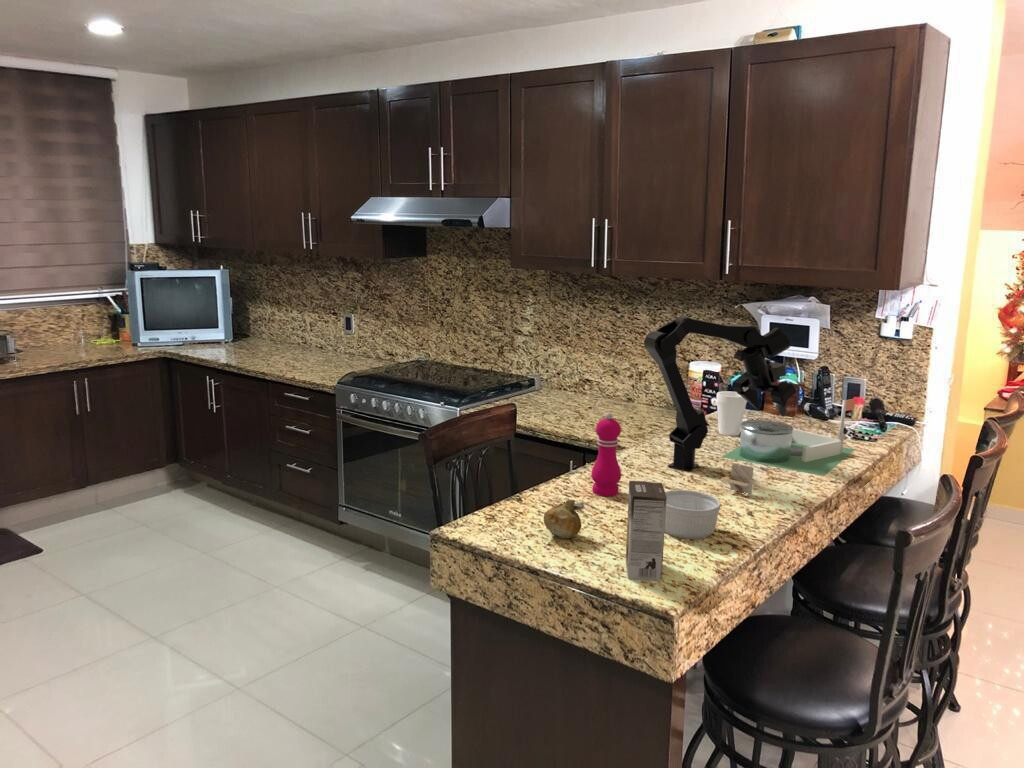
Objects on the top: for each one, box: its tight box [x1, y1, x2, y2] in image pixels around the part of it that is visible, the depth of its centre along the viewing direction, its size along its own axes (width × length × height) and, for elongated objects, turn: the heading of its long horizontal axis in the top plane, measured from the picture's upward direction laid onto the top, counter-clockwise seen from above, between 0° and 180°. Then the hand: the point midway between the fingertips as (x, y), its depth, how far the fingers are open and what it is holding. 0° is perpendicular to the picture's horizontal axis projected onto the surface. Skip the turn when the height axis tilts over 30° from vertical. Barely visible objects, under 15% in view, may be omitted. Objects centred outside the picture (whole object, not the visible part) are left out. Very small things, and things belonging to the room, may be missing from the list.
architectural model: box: [720, 462, 754, 497], centre depth 195 cm, size 3×7×7 cm, turn 48°
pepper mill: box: [590, 412, 622, 497], centre depth 192 cm, size 7×7×20 cm
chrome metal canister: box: [739, 419, 794, 463], centre depth 228 cm, size 14×14×9 cm
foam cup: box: [715, 390, 748, 437], centre depth 254 cm, size 10×9×13 cm
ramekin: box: [665, 489, 721, 540], centre depth 170 cm, size 13×13×7 cm
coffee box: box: [625, 480, 667, 582], centre depth 148 cm, size 9×6×16 cm
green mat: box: [721, 442, 856, 477], centre depth 233 cm, size 35×28×1 cm
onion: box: [543, 499, 585, 539], centre depth 165 cm, size 8×8×8 cm
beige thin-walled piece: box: [790, 398, 856, 462], centre depth 237 cm, size 22×20×16 cm
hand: (771, 412), depth 224 cm, fingers open, 9 cm apart
